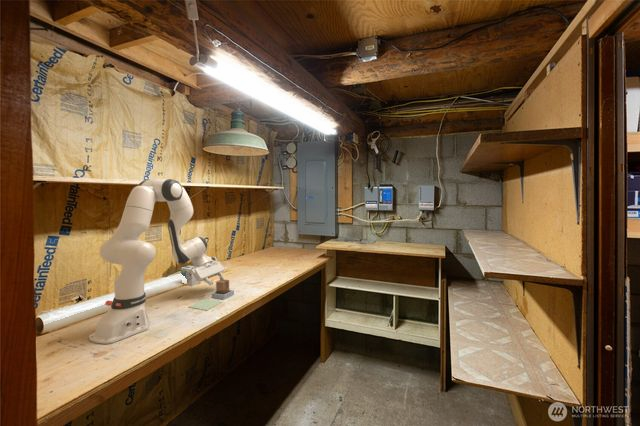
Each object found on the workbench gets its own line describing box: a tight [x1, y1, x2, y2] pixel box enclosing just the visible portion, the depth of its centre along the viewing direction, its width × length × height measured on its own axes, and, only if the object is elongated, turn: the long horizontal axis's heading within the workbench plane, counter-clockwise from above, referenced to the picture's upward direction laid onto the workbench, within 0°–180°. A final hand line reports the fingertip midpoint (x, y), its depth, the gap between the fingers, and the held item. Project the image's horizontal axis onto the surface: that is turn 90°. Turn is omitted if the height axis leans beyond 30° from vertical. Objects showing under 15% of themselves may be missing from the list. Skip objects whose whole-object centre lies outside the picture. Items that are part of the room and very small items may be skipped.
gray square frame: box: [211, 289, 235, 301], centre depth 173 cm, size 9×9×2 cm
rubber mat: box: [188, 298, 223, 312], centre depth 160 cm, size 12×12×1 cm
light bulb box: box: [180, 265, 201, 287], centre depth 196 cm, size 11×7×11 cm, turn 62°
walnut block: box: [215, 278, 230, 295], centre depth 172 cm, size 5×5×9 cm
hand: (217, 282), depth 174 cm, fingers open, 8 cm apart
